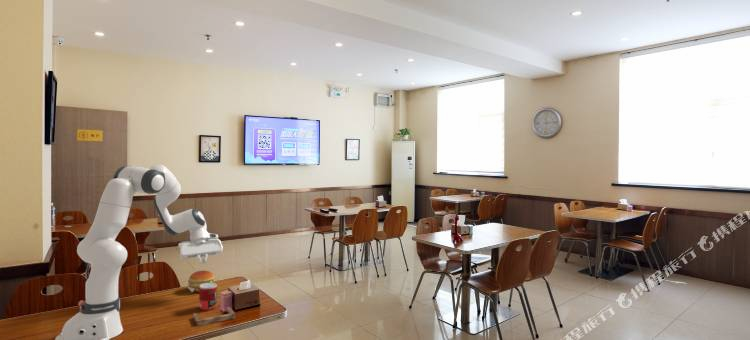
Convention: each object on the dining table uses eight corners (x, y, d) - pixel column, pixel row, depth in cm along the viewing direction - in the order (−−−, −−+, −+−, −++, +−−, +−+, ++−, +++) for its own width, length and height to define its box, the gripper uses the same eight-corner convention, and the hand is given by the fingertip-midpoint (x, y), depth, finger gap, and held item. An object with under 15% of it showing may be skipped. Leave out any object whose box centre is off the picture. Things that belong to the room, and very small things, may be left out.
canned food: (210, 311, 192) (210, 288, 191) (195, 310, 193) (195, 287, 193) (220, 305, 199) (220, 283, 199) (205, 304, 201) (205, 281, 200)
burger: (220, 288, 224) (220, 270, 224) (200, 295, 212) (200, 276, 211) (202, 284, 230) (202, 266, 229) (181, 291, 217) (181, 272, 217)
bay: (197, 325, 176) (197, 321, 176) (193, 317, 184) (193, 313, 184) (235, 318, 185) (235, 314, 185) (230, 310, 193) (230, 306, 193)
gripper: (178, 238, 206) (181, 262, 198) (220, 234, 217) (225, 256, 209) (177, 245, 210) (180, 269, 202) (219, 240, 221) (223, 263, 213)
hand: (203, 262), depth 206 cm, fingers closed
